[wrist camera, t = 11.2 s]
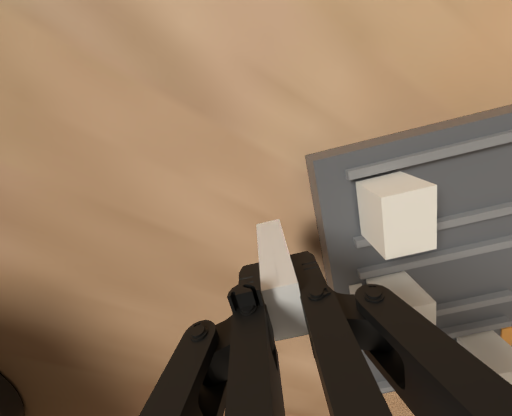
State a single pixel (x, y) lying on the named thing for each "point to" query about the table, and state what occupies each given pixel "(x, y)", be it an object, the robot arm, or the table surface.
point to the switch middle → (408, 293)
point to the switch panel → (448, 218)
